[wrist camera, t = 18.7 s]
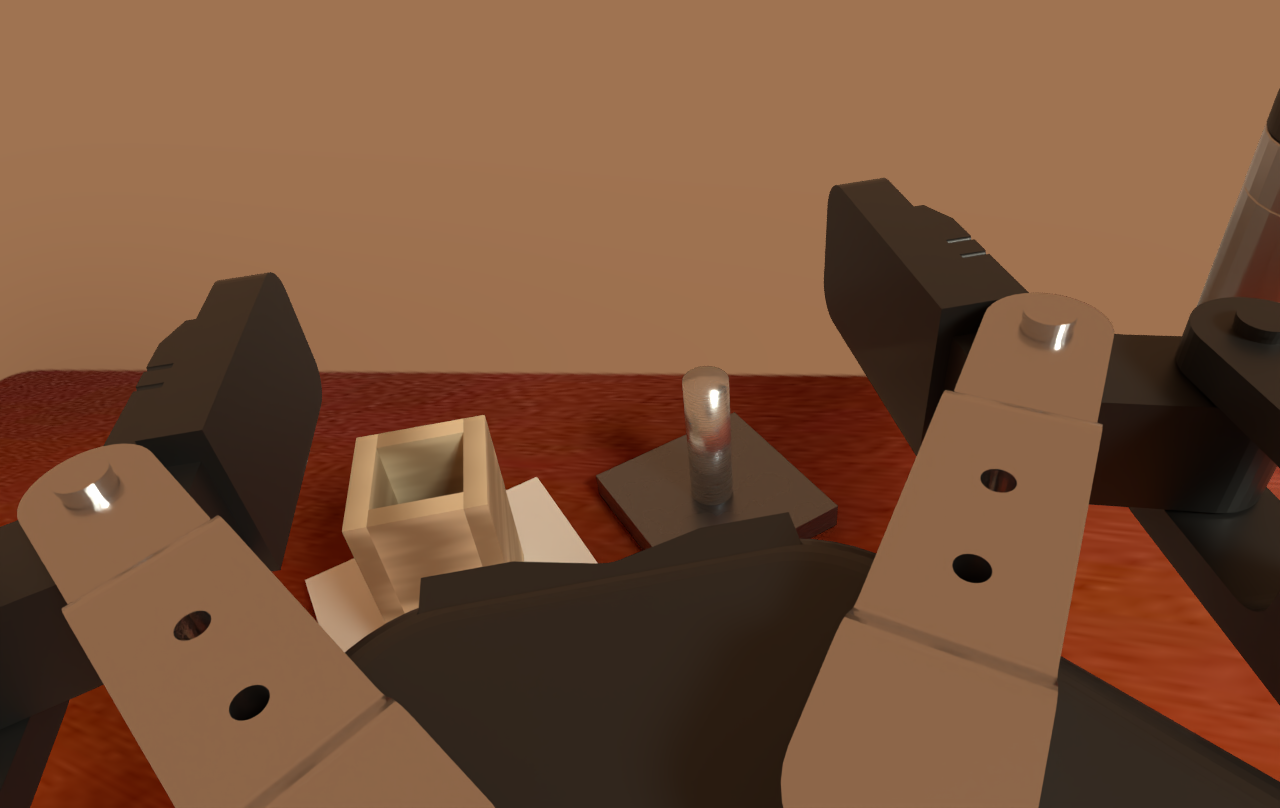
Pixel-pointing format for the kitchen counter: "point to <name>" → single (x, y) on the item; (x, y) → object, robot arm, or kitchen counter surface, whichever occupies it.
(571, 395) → the kitchen counter surface
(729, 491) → the stand
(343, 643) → the board
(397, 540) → the sleeve
